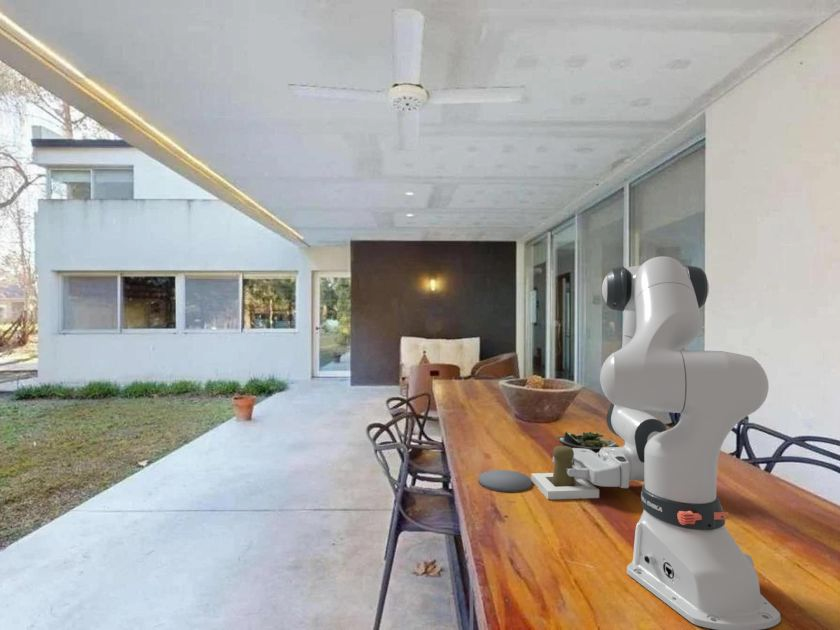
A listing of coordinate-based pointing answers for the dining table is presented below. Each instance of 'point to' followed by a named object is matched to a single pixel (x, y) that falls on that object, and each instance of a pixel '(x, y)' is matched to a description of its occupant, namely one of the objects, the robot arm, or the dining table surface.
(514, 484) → the charcoal mat
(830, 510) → the dining table surface
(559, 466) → the olive pawn
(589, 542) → the dining table surface
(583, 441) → the salad plate
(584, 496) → the white square frame
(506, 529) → the dining table surface
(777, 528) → the dining table surface
